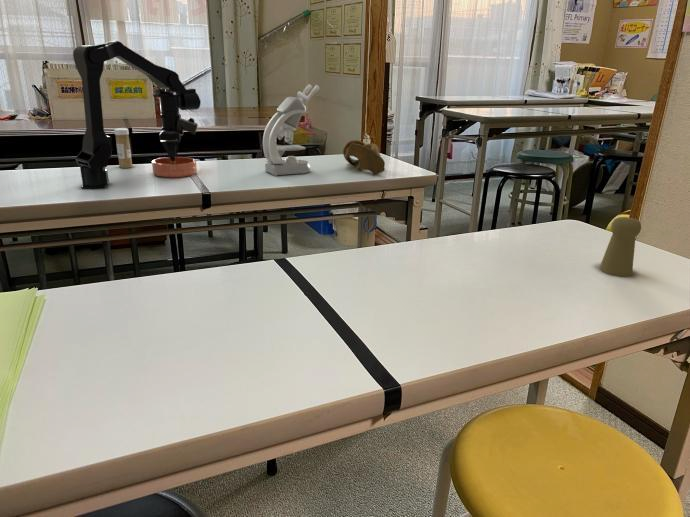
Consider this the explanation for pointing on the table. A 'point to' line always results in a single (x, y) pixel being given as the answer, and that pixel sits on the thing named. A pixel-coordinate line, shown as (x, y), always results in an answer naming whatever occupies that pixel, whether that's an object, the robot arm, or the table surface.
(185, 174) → the bowl
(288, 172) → the microscope
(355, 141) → the brown looped sculpture
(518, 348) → the table surface
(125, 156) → the sprinkles bottle
